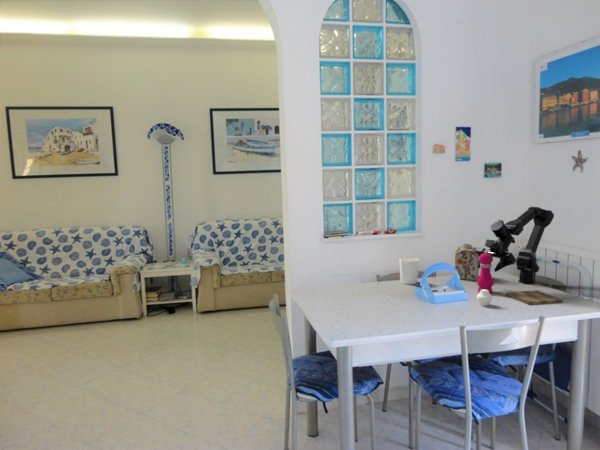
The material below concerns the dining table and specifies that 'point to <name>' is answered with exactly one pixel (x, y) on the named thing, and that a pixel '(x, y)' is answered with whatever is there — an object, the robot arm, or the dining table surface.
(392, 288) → the dining table surface
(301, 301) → the dining table surface
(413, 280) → the candle holder
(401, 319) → the dining table surface
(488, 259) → the pepper mill
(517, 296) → the walnut board
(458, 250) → the decorative jar
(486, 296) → the white rounded lump
